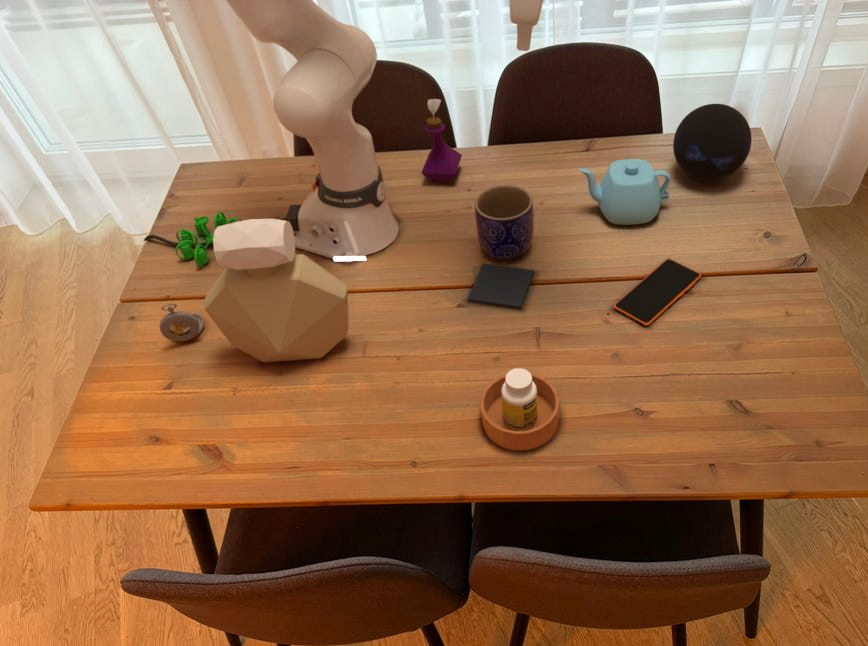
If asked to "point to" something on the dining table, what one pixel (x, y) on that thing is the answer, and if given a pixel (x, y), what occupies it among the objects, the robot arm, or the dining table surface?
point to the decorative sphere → (712, 142)
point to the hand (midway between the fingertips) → (526, 37)
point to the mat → (501, 286)
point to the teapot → (629, 191)
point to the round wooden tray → (520, 438)
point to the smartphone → (657, 292)
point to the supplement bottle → (519, 400)
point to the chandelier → (201, 228)
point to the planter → (504, 221)
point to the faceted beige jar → (274, 294)
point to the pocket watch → (180, 325)
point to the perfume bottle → (439, 150)
